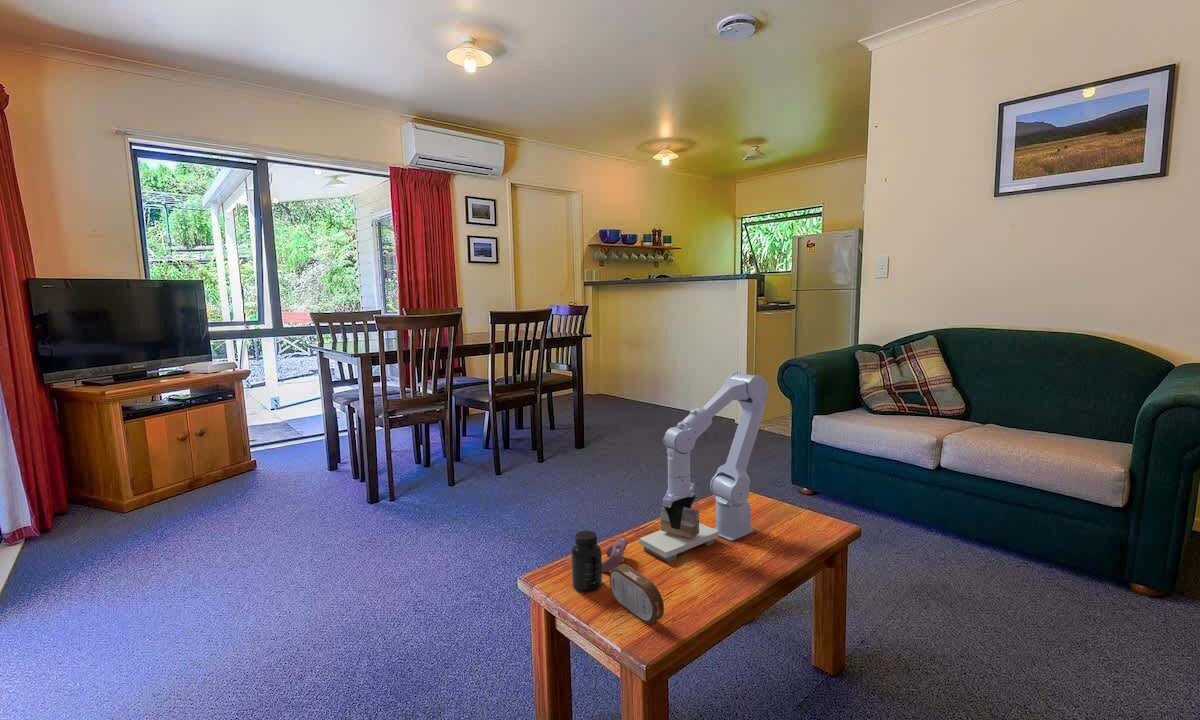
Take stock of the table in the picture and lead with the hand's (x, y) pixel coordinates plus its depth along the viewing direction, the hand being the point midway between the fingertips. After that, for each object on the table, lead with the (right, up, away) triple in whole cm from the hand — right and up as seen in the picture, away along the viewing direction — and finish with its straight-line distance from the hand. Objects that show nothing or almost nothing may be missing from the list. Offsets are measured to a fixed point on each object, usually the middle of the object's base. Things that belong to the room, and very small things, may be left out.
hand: (679, 525), depth 136 cm
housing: (0, -2, 0) cm, 2 cm away
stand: (0, -6, +1) cm, 6 cm away
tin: (-13, -9, -28) cm, 33 cm away
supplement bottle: (-24, -8, -18) cm, 31 cm away
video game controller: (-17, -7, -8) cm, 20 cm away
